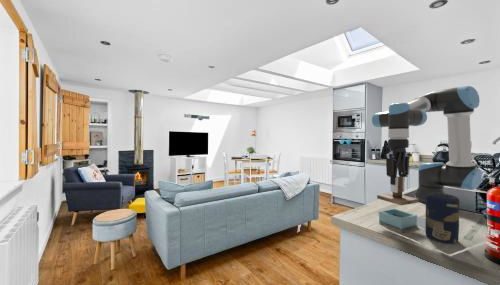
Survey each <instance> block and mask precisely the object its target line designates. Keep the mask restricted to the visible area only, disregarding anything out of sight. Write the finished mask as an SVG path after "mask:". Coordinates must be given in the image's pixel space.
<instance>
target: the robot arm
mask: <svg viewBox="0 0 500 285" xmlns="http://www.w3.org/2000/svg"><path fill="white" fill-rule="evenodd" d="M480 101H481V100H480V95H479V92H478V91H477V90H476V88H475V87H473V86H470V85H465V86H458V87H452V88H451V87H450V88H446V89H445V88H444V89H440V90H439V89H438V90H435V91H431V92H429V93H428V92H427V93H426V94H422V95H420V96H418V97H415V98H414V99H413V100H412V101H411V102H395V103H391V104H389V106H388V110H386V111H384V112H376V113H374V114H373V115H372V117H371V122H372V125H373V126H374V127H376V128H388V134H387V136H388V137H387V138H388V140H387V147H388V148H389V152H388V153H385V154H384V156H385V162H386V166H385V169H386V176H387V177H389V179H390V181H389V182H390V193H393V192H395V193H398V178H396V177H397V176H400V177H403V183H402V193H404V192H405V180H406V178H408V176H409V171H410V170H409V169H410V158H411V152H407V148H409V146H410V144H409V142H410V140H409V137H410V127H419V126H422V125H424V124H425V123H426V122H427V120H428V115H427V113H431V112H443V113H442V114H443V116H445V117H446V118H447V119H446V120H447V135H448V136H447V138H448V139H447V140H448V161H447V162H445V163H444V162H423V163H420V164H419V165H418V169H417V170H418V186H417V189H416V191H415V194H414V198H417V199H419V202H421V203H422V204H423V203H425V204H426V195H427V194H429V193H436V192H441V193H444V194H446V192H445V190H444V189H445V187H448V188H449V187H450V188H453V189H454V188H456V189H459V190H465V191H466V190H467V191H473V190H476V189H477V188H478V187H479V186H480V183H481V182H482V177H483V173H482V170H481V169H480V168H477V167H476V166H477V165H476V163H475V162H473V161H472V143H471V142H472V141H471V139H472V138H471V136H472V135H471V115H472V114H473V113H474V112H475V109H477V108H478V107H479V105H480Z"/></svg>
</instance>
